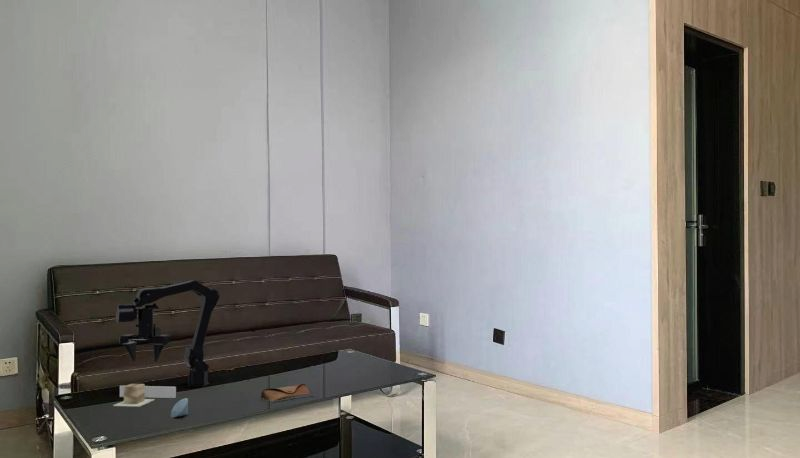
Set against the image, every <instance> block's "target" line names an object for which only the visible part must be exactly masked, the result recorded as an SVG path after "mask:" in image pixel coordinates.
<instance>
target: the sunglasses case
mask: <svg viewBox="0 0 800 458" xmlns="http://www.w3.org/2000/svg"><path fill="white" fill-rule="evenodd" d="M309 393H311V392H310V391H309V389H308V387H307V386H306V384H305V383H301V384H297V385H288V386H282V387H281V386H280V387H276V388H275V387H271V388H265V389H263V390H262V392H261V393H260V395H261V396H260V397H261V399H262V398H264V399H266V400H269V401H275V400H281V399H286V398H291V397H295V396H299V395H304V394H309Z"/></svg>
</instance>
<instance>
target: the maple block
mask: <svg viewBox="0 0 800 458" xmlns="http://www.w3.org/2000/svg"><path fill="white" fill-rule="evenodd" d="M124 386H125V387H124V397H123V401H124V404H138V403H140V402H143V401H145V399H146V397H145V386H146V385H145V383H129V384H127V385H124Z"/></svg>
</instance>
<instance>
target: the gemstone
mask: <svg viewBox="0 0 800 458" xmlns="http://www.w3.org/2000/svg"><path fill="white" fill-rule="evenodd" d="M188 415H189V399H188V398H187V397H185V398H182V399H180V400H178V401H177V402H176V403H175V404H174V406H173V407H172V409H171V411H170V418H171V419H173V418H177V417H183V416H188Z"/></svg>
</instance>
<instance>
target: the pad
mask: <svg viewBox="0 0 800 458" xmlns="http://www.w3.org/2000/svg"><path fill="white" fill-rule="evenodd" d="M155 399H156V398H155ZM155 399H153V398H145V401H143V402H140V403H138V404H124V400H123V401H120V402H118V403H115V404H113V405H112V406H113V407H130V408H131V407H132V408H133V407H134V408H140V407H142V406H144V405H147V404H149V403H151V402H154V401H155Z"/></svg>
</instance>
